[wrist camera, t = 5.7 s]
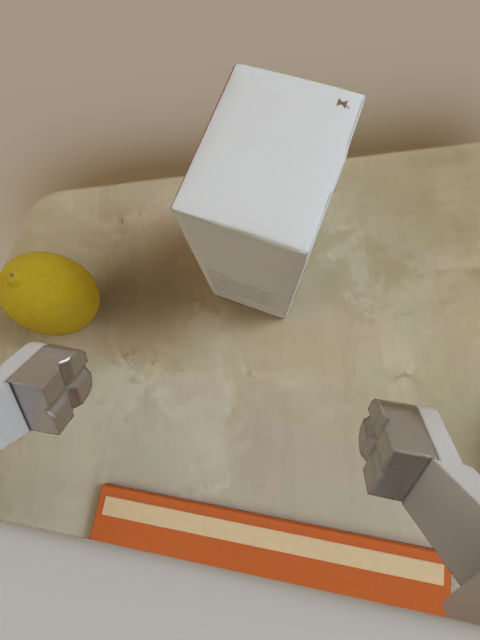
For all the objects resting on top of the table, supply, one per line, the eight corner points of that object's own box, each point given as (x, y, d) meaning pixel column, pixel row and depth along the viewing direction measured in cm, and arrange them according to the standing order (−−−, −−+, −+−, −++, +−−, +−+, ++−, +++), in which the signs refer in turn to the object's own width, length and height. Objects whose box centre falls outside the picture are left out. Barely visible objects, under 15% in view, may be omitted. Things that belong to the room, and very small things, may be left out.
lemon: (126, 325, 26) (69, 298, 18) (61, 353, 26) (-24, 337, 18) (105, 266, 27) (43, 217, 19) (43, 292, 27) (-44, 253, 19)
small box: (245, 209, 27) (234, 56, 15) (317, 232, 27) (371, 90, 14) (210, 295, 26) (166, 208, 13) (285, 322, 25) (313, 256, 13)
